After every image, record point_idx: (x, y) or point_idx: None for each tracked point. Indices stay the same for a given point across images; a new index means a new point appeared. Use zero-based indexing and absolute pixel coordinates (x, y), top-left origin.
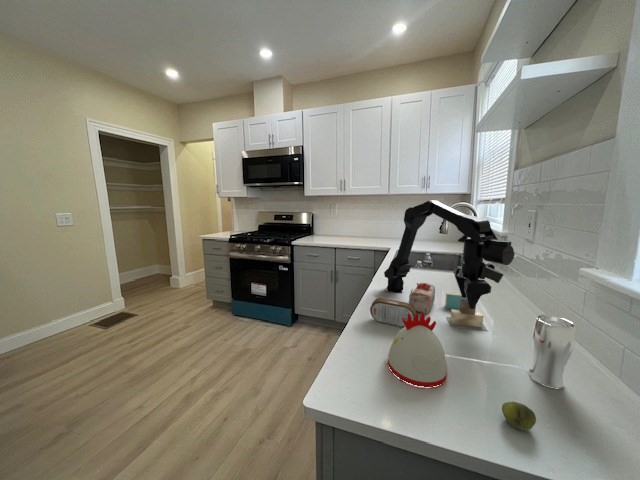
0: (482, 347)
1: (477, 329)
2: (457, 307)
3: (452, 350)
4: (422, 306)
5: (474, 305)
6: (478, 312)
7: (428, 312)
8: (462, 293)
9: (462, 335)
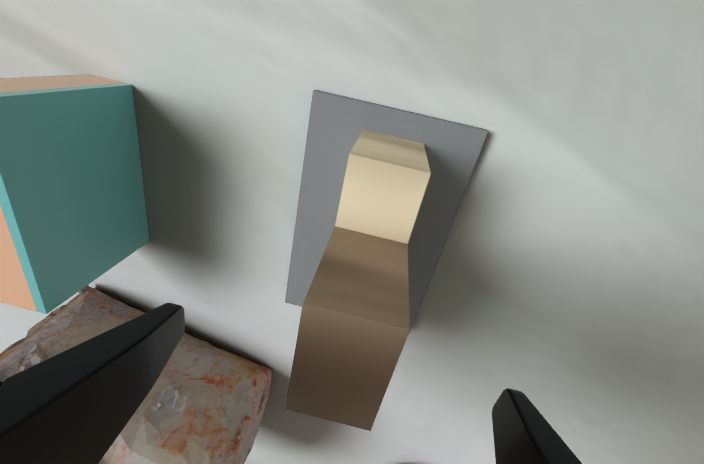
0: (653, 274)
1: (455, 198)
2: (126, 180)
3: (628, 410)
4: (252, 431)
5: (558, 451)
6: (348, 179)
7: (259, 371)
8: (151, 377)
9: (501, 309)
